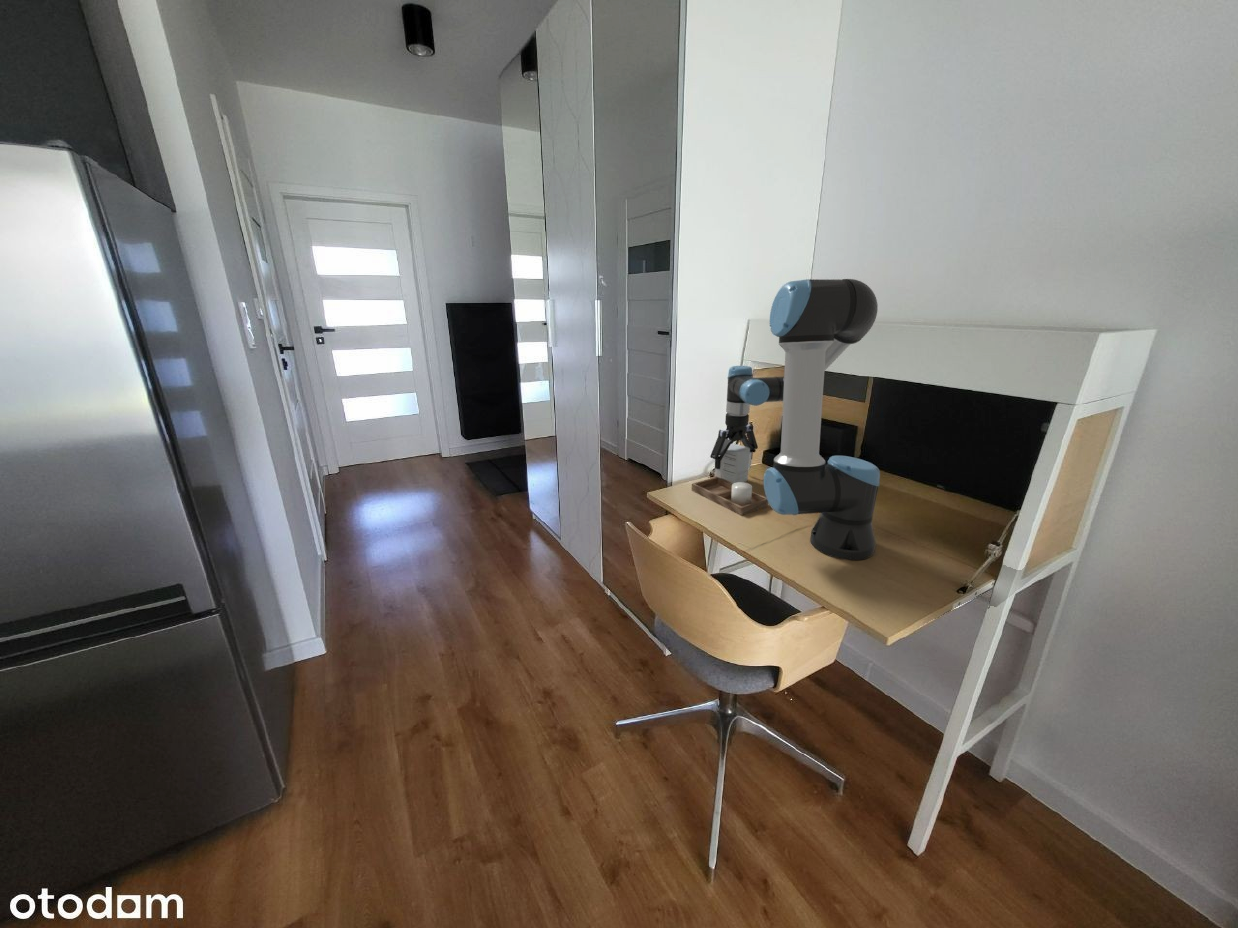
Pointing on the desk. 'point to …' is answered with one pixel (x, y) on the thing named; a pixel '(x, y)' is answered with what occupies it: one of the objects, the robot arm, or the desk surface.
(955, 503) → the desk surface
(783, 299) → the robot arm
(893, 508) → the desk surface
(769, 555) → the desk surface
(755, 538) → the desk surface
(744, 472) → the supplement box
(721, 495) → the tray
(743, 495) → the ceramic jar
